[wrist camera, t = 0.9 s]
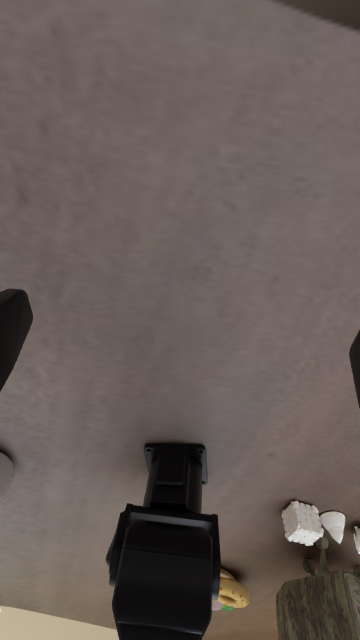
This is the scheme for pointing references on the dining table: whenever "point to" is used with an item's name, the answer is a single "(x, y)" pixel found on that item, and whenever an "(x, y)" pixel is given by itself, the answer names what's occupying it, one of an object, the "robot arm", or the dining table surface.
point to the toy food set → (230, 593)
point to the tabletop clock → (320, 603)
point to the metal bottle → (5, 474)
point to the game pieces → (313, 524)
